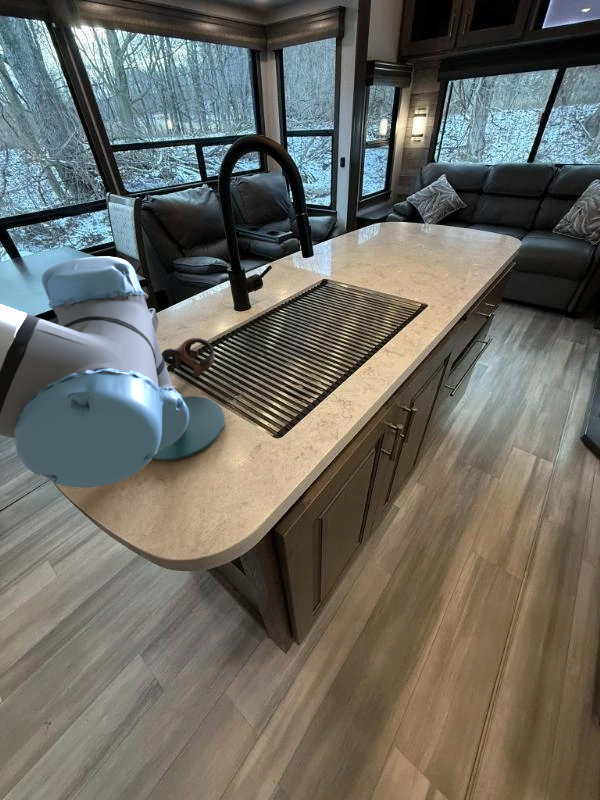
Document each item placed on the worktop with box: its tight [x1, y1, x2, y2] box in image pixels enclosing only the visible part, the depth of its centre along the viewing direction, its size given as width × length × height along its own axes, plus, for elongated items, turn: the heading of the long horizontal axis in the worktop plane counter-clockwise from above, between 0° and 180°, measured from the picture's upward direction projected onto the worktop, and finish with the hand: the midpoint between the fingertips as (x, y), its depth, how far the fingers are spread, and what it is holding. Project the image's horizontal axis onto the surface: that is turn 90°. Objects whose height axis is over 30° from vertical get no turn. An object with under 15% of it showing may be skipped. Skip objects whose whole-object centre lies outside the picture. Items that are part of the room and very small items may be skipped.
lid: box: [151, 386, 226, 462], centre depth 62 cm, size 18×18×9 cm
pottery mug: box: [161, 337, 215, 377], centre depth 79 cm, size 12×10×8 cm
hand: (83, 317), depth 58 cm, fingers open, 13 cm apart
